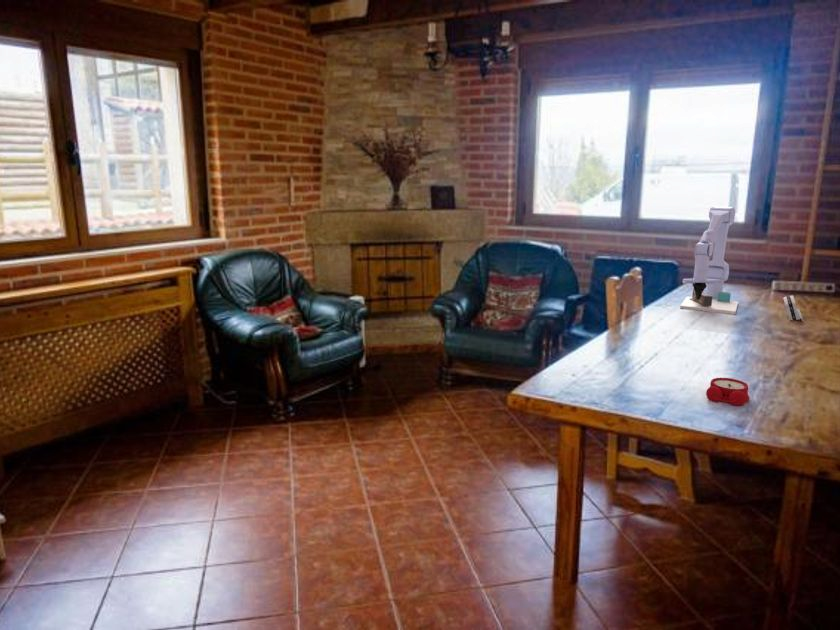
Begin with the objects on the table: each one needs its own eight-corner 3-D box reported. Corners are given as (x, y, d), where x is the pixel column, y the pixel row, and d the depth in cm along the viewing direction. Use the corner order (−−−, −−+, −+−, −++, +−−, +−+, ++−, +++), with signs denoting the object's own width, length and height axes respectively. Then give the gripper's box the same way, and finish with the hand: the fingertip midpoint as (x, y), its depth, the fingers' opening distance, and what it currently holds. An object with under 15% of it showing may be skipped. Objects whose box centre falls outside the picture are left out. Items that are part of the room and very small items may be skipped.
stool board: (686, 298, 289) (687, 288, 288) (738, 304, 279) (739, 293, 277) (680, 308, 270) (681, 296, 269) (735, 314, 259) (736, 302, 258)
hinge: (803, 322, 247) (797, 298, 246) (790, 324, 249) (784, 301, 248) (800, 313, 261) (794, 291, 260) (787, 316, 263) (782, 294, 263)
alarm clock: (752, 381, 167) (749, 385, 154) (749, 403, 167) (745, 409, 155) (711, 374, 172) (705, 378, 160) (708, 396, 173) (701, 401, 160)
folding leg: (690, 298, 283) (691, 288, 282) (697, 298, 283) (698, 288, 282) (704, 305, 267) (705, 295, 266) (711, 306, 267) (712, 295, 266)
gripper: (688, 270, 265) (685, 301, 268) (721, 271, 265) (717, 301, 268) (682, 268, 272) (678, 297, 275) (714, 268, 272) (711, 298, 275)
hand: (697, 299), depth 272 cm, fingers closed
